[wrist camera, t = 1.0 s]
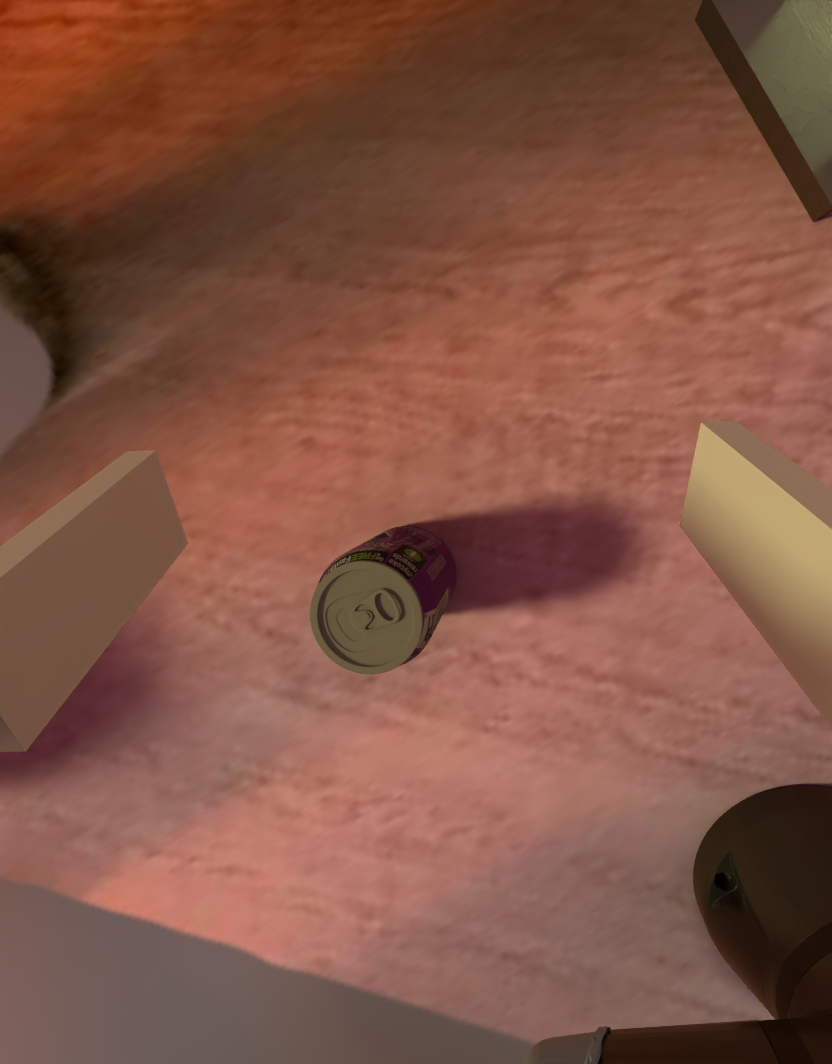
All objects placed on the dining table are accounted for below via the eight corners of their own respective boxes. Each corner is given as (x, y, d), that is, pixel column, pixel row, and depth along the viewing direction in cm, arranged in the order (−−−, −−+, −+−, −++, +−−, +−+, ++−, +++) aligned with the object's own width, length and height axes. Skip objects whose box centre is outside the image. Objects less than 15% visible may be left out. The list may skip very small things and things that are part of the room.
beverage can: (426, 507, 39) (387, 527, 27) (474, 591, 39) (456, 647, 27) (347, 553, 40) (278, 590, 29) (393, 633, 41) (343, 703, 29)
